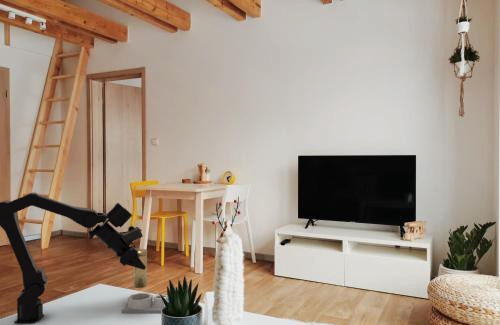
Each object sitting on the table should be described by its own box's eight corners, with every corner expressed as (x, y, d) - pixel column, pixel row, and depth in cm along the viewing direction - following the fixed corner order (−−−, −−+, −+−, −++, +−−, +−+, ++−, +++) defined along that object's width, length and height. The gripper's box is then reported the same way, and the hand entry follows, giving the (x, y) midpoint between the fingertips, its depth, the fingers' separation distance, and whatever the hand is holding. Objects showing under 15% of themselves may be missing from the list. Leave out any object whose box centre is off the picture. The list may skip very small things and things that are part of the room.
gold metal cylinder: (130, 287, 146) (130, 251, 145) (137, 283, 150) (137, 248, 150) (142, 288, 144) (142, 252, 144) (149, 284, 149) (149, 249, 149)
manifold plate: (121, 313, 140) (121, 301, 140) (130, 303, 149) (129, 292, 149) (169, 313, 140) (169, 301, 140) (175, 304, 149) (175, 292, 149)
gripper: (130, 223, 137) (164, 255, 141) (126, 216, 154) (156, 244, 158) (105, 249, 134) (140, 280, 138) (103, 239, 152) (135, 267, 156)
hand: (144, 266), depth 148 cm, fingers closed on gold metal cylinder, 4 cm apart
